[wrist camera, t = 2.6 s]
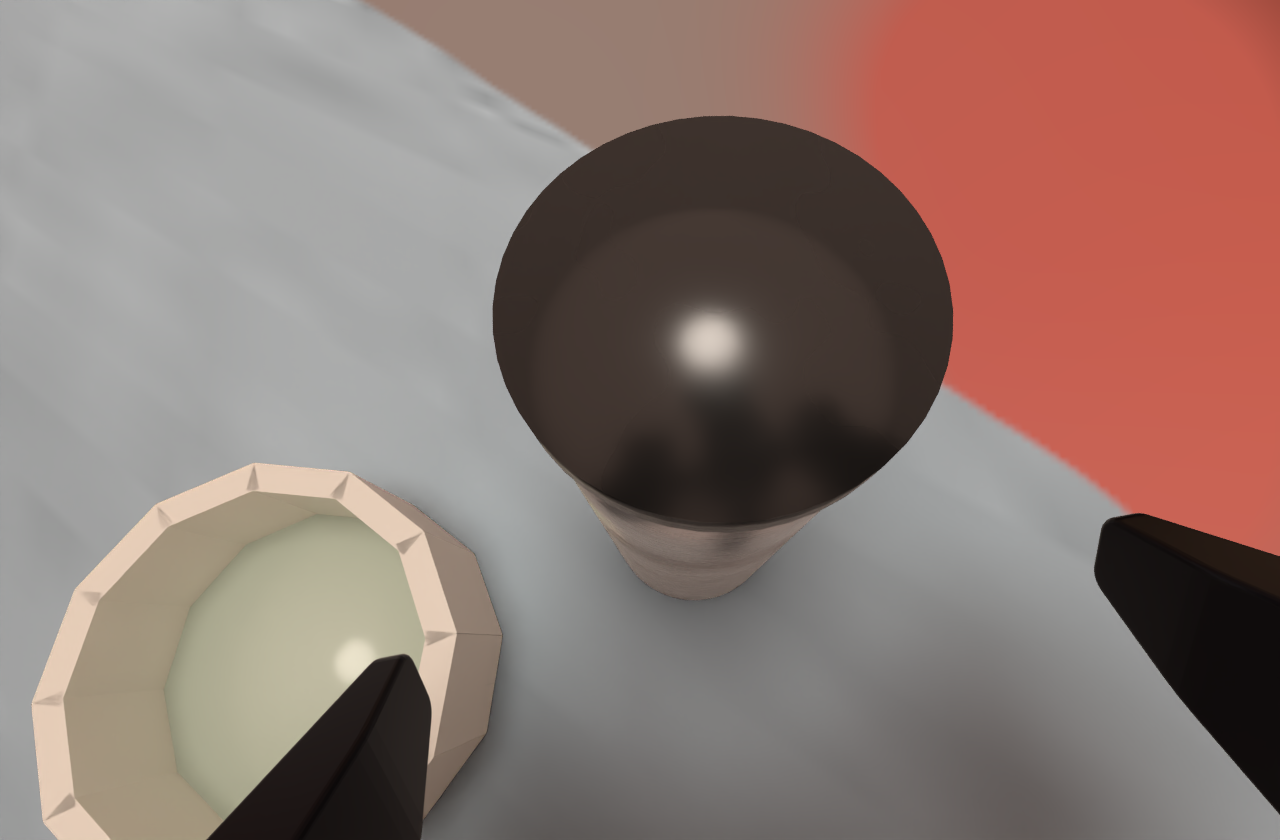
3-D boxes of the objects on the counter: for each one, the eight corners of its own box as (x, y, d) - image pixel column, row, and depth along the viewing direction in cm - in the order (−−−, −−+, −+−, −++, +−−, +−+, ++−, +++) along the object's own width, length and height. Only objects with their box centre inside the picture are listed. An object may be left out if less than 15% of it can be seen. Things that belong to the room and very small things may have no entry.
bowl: (545, 759, 17) (508, 792, 13) (203, 924, 16) (61, 1008, 13) (439, 452, 20) (383, 408, 16) (146, 578, 19) (17, 562, 16)
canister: (804, 561, 18) (1051, 397, 6) (651, 632, 18) (595, 608, 6) (729, 418, 20) (808, 61, 8) (587, 480, 20) (435, 209, 7)
